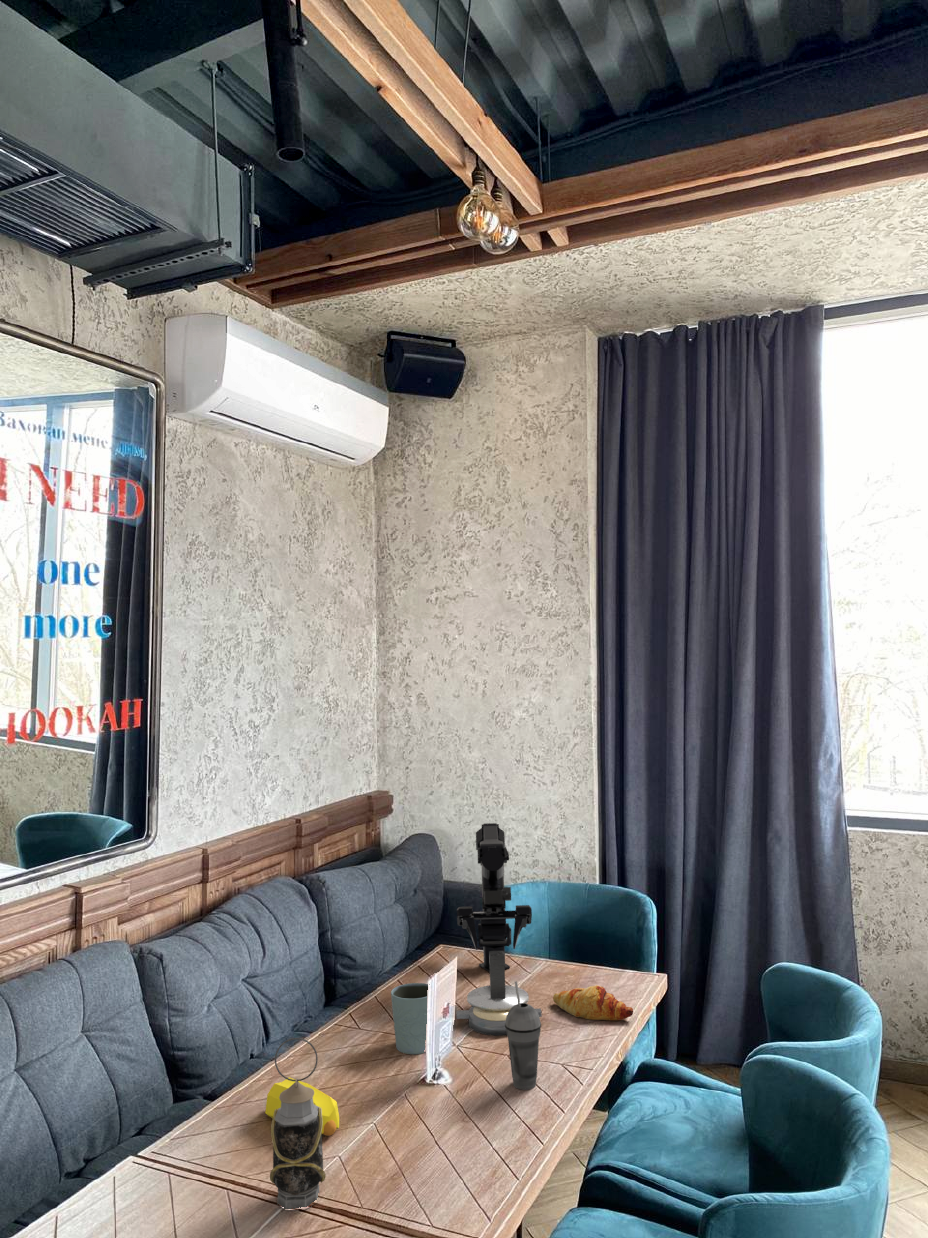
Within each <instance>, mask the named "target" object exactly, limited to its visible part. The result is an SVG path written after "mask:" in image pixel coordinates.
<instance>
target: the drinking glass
mask: <svg viewBox="0 0 928 1238" xmlns="http://www.w3.org/2000/svg"><path fill="white" fill-rule="evenodd" d="M428 984H429V983H425V982H424V983H423V982H413V983H412V982H410V983H404V984H401V985H398V986H397V985H396V987H394V988H392V990H391V991H390V996H391V1007H392V1019H393V1023H394V1025H393V1027H394V1036H395V1037H394V1038H395V1046H396V1051H397V1050H398V1052H400V1053H402V1054H406V1055H421V1054H425V1053H424V1050H425V1040H426V1024H427V990H428Z"/></svg>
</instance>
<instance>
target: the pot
mask: <svg viewBox="0 0 928 1238" xmlns="http://www.w3.org/2000/svg"><path fill="white" fill-rule="evenodd" d="M534 1009H535V1010H536V1011H537V1013H538V1015H539V1017H540V1018H542V1017H543V1013H542V1008H534ZM508 1012H509V1010H506V1011H488V1010H482V1009H478V1008H475V1007H473V1006H471V1007H470V1008H469V1009H467V1010H465V1009H464V1010H461V1009H460V1010H459V1009H458V1010H456V1013H455V1014H456V1016H455V1017H456V1019H457V1020H467V1019H468V1026H469V1028H470V1029H471V1030H472V1031H473V1032H476V1033H477V1034H481V1035H485V1036H486V1035H487V1036H492V1037H493V1036H494V1037H499V1036H500V1037H501V1036H507V1033H506V1028H505V1023H506V1016H507V1014H508Z"/></svg>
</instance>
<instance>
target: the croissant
mask: <svg viewBox="0 0 928 1238" xmlns="http://www.w3.org/2000/svg"><path fill="white" fill-rule="evenodd" d="M552 1000H553V1002H554V1003H555V1004H556V1005H557V1006H558V1007H559V1008H560V1009H561V1010H563V1011H565V1012H566V1013H568V1014H570V1015H572V1016H574V1017H575V1018H583V1019H585V1020H590V1021H597V1020H598V1021H603V1020H606V1021H622V1020H626V1019H628V1018H629V1017H630V1018H631V1017H632V1016H633V1014H634V1008H633V1007H632V1006H627V1005H626V1003H625V1002H623V1001H621V1000H618V999H617V998H616V996H614V994H613V993H609V992H607V990H606V988H605V987H604V986H601V985H598V984H595V985H591V986H588V987H587V988H585V987H582V988H581V987H576V988H572V989H570V990H561V991H560V992H559V993H554V994H553V997H552Z"/></svg>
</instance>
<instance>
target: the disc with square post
mask: <svg viewBox="0 0 928 1238" xmlns="http://www.w3.org/2000/svg"><path fill="white" fill-rule="evenodd" d="M489 963H490V972H489V985H485V986H480V987H476V988H474V989H472V990H471V991H469V992H468V993H467V996H466V999H467V1000H466V1001H467V1003H468V1004H469V1005H470V1006H471V1007H472V1006H473V1007H475V1008H478V1009H482V1010H488V1011H506V1010H510V1009H511V1008H512V1007H513V1006H515V1005H516V1004H518V1002H517V995H516V988H515V985H508V984H506V969H505V964H506V960H505V961H504V951H489ZM518 991H519V998H520V1003H526V1004H528V1003H529V1001H530V1000H529V999H530V997H529V993H528V992H527V991H526V990H525V989H524V988H521V987H518Z"/></svg>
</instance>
